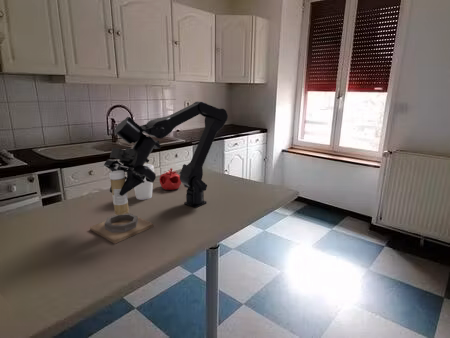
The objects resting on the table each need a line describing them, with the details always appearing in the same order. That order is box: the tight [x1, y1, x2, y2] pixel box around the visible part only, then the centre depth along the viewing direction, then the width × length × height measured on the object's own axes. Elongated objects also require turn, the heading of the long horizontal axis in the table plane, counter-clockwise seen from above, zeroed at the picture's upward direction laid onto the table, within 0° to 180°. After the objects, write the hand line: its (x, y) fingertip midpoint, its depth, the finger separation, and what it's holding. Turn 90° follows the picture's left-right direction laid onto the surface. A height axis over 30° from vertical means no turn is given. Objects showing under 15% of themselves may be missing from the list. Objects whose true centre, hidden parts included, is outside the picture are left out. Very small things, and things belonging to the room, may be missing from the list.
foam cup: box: [133, 163, 155, 201], centre depth 119 cm, size 10×9×13 cm
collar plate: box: [89, 212, 154, 244], centre depth 93 cm, size 14×14×3 cm
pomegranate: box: [159, 167, 182, 191], centre depth 131 cm, size 10×10×9 cm
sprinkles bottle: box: [108, 170, 130, 215], centre depth 90 cm, size 5×5×14 cm
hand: (115, 193), depth 89 cm, fingers closed on sprinkles bottle, 4 cm apart
